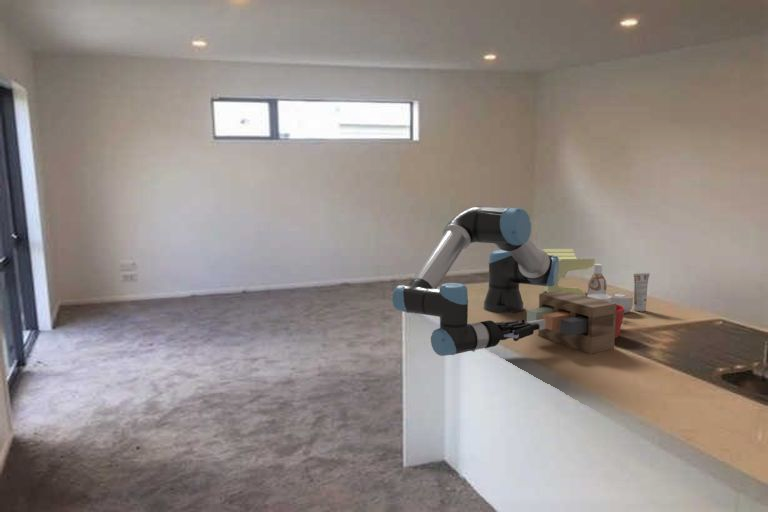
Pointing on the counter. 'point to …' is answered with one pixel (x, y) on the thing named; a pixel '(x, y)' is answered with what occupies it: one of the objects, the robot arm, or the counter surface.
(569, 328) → the slate key
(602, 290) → the cosmetic set
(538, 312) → the sage key
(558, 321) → the rust key
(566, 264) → the slatted curved stool
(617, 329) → the flower pot
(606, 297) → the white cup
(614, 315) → the box
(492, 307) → the robot arm
